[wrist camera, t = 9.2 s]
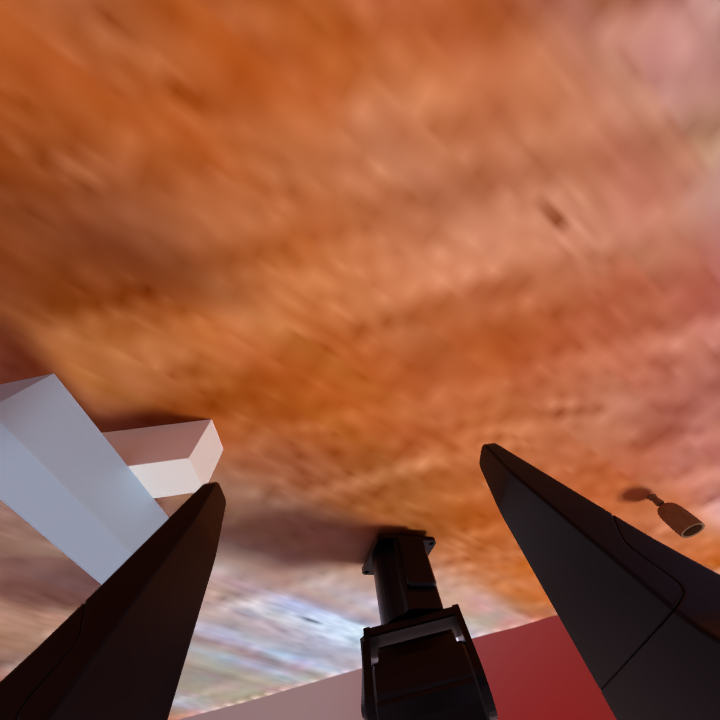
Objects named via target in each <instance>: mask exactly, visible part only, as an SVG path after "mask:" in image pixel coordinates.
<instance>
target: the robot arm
mask: <svg viewBox="0 0 720 720" xmlns="http://www.w3.org/2000/svg"><path fill="white" fill-rule="evenodd" d="M480 468H481V470H482V472H483V475H484V477H485V479H486V481H487V484H488V486H489V488H490V490H491V493H492V495H493V497H494V499H495V502H496V504H497V506H498V508H499V510H500V512H501V514H502V516H503V518H504V520H505V522H506V523H507V525H508V527H509V529H510V530H511V532H512V534H513V536H514V537H515V539H516V541H517V543H518V545H519V546H520V548H521V550H522V552H523V553H524V555H525V557H526V559H527V561H528V562H529V564H530V566H531V568H532V569H533V571H534V573H535V575H536V577H537V578H538V580H539V582H540V584H541V585H542V587H543V589H544V591H545V592H546V594H547V596H548V598H549V600H550V601H551V603H552V605H553V607H554V608H555V610H556V612H557V614H558V616H559V617H560V619H561V621H562V623H563V624H564V626H565V628H566V630H567V631H568V633H569V635H570V637H571V639H572V640H573V642H574V644H575V646H576V647H577V649H578V651H579V653H580V654H581V656H582V658H583V660H584V661H585V663H586V665H587V667H588V669H589V671H590V672H591V674H592V675H593V678H594V679H595V681H596V683H597V685H598V686H599V688H600V689H601V692H602V694H603V696H604V697H605V699H606V701H607V703H608V705H609V706H610V708H611V710H612V712H613V714H614V715H615V717H616V719H617V720H720V575H719V574H717V573H716V572H714V571H712V570H710V569H708V568H706V567H704V566H703V565H701V564H699V563H697V562H695V561H693V560H691V559H690V558H688V557H686V556H684V555H682V554H680V553H679V552H677V551H675V550H673V549H671V548H670V547H668V546H666V545H664V544H662V543H660V542H659V541H657V540H655V539H653V538H652V537H650V536H648V535H647V534H645V533H643V532H641V531H640V530H638V529H636V528H635V527H633V526H631V525H630V524H628V523H626V522H625V521H623V520H621V519H620V518H618V517H616V516H614V515H613V516H612V514H611V513H610V512H608V511H606V510H605V509H603V508H601V507H600V506H598V505H596V504H595V503H593V502H591V501H590V500H588V499H586V498H585V497H583V496H582V495H580V494H578V493H577V492H575V491H573V490H572V489H570V488H568V487H567V486H565V485H563V484H562V483H560V482H558V481H557V480H555V479H553V478H552V477H550V476H549V475H547V474H545V473H544V472H542V471H540V470H539V469H537V468H535V467H534V466H532V465H530V464H529V463H527V462H525V461H524V460H522V459H521V458H519V457H517V456H516V455H514V454H512V453H511V452H509V451H507V450H506V449H504V448H502V447H501V446H499V445H497V444H495V443H491V444H484V445H483V446H482V450H481V455H480ZM225 506H226V500H225V497H224V494H223V492H222V489H221V487H220V485H219V483H217V482H212V483H206V484H203V485H202V486H201V487H200V488H199V489H198V490H197V491H196V492H195V493H194V494H193V495H192V496H191V497H190V498H189V499H188V500H187V501H186V502H185V503H184V504H183V505H182V506H181V507H180V508H179V509H178V510H177V511H176V512H175V513H174V514H173V515H172V516H171V517H170V518H169V519H168V520H167V521H166V522H165V523H164V524H163V525H162V526H161V527H160V528H159V529H158V530H157V531H156V532H154V533H153V534H152V535H151V536H150V537H149V538H148V539H147V540H146V541H145V542H144V543H143V544H142V545H141V546H140V547H139V548H138V549H137V550H136V551H135V552H134V553H133V554H132V555H131V556H130V557H129V558H128V559H127V560H126V561H125V562H124V563H123V564H122V565H121V566H120V567H119V568H118V569H117V570H116V571H115V572H114V573H113V574H112V575H111V576H110V577H109V578H108V579H107V580H106V581H105V582H104V583H103V584H102V585H101V586H100V587H99V588H98V589H97V590H96V591H95V592H94V593H93V594H92V595H91V596H90V597H89V598H88V599H87V600H86V602H85V603H84V604H82V605H81V606H80V607H79V608H78V609H77V610H76V611H75V612H74V613H73V614H72V615H71V616H70V617H69V618H68V619H67V620H66V621H64V622H63V623H62V624H61V625H60V626H59V627H58V628H57V629H56V630H55V631H54V632H53V633H52V634H51V635H50V636H49V637H48V638H47V639H46V640H45V641H44V642H43V643H42V644H41V645H40V646H39V647H38V648H37V649H35V650H34V651H33V652H32V653H31V654H30V655H29V656H28V657H27V658H26V659H25V660H24V661H22V662H21V663H20V664H19V665H18V666H17V667H16V668H15V669H14V670H13V671H12V672H11V673H9V674H8V675H7V676H6V677H5V678H4V679H3V680H2V681H1V682H0V720H167V719H168V716H169V713H170V709H171V706H172V703H173V699H174V696H175V692H176V689H177V686H178V682H179V679H180V676H181V672H182V669H183V665H184V662H185V659H186V655H187V652H188V649H189V645H190V642H191V638H192V635H193V632H194V628H195V625H196V622H197V618H198V615H199V611H200V608H201V605H202V601H203V598H204V595H205V591H206V588H207V584H208V581H209V578H210V574H211V571H212V568H213V564H214V560H215V557H216V552H217V547H218V542H219V537H220V532H221V527H222V521H223V516H224V511H225ZM435 544H436V542H435V539H434V537H426V536H411V535H395V534H379V535H378V536H377V538H376V540H375V542H374V544H373V546H372V548H371V550H370V552H369V554H368V556H367V559H366V561H365V563H364V565H363V567H362V573H363V574H364V575H374V578H375V585H376V592H377V599H378V606H379V614H380V621H381V625H380V626H376V627H372V628H370V627H367V628H364V629H363V631H364V636H363V637H362V638H361V639H360V641H361V652H362V699H361V711H362V717H363V719H364V720H496V719H498V716H497V711H496V708H495V704H494V701H493V697H492V694H491V691H490V688H489V685H488V682H487V679H486V676H485V673H484V670H483V667H482V665H481V662H480V659H479V657H478V655H477V652H476V649H475V647H474V644H473V642H472V639H471V636H470V634H469V631H468V629H467V626H466V624H465V621H464V619H463V616H462V613H461V611H460V608H459V606H458V604H455V605H452V607H449V608H445V609H443V606H442V602H441V599H440V596H439V593H438V589H437V586H436V580H435V577H434V574H433V571H432V568H431V564H430V561H429V558H428V555H429V553H430V552H431V550H432V549H433V547H434V545H435ZM456 637H458V639H459V641H456Z"/></svg>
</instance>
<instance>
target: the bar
mask: <svg viewBox="0 0 720 720" xmlns="http://www.w3.org/2000/svg"><path fill="white" fill-rule="evenodd" d="M0 500H1V501H3V502H4V503H5V504H6V505H7V506H9V507H10V508H11V509H12V510H13V511H14V512H16V513H17V514H18V515H19V516H20V517H22V518H23V519H24V520H25V521H26V522H28V523H29V524H30V525H31V526H32V527H33V528H35V529H36V530H37V531H38V532H39V533H41V534H42V535H43V536H44V537H45V538H47V539H48V540H49V541H50V542H51V543H52V544H54V545H55V546H56V547H57V548H58V549H60V550H61V551H62V552H63V553H64V554H65V555H67V556H68V557H69V558H70V559H71V560H73V561H74V562H75V563H76V564H77V565H79V566H80V567H81V568H82V569H83V570H84V571H86V572H87V573H88V574H89V575H90V576H92V577H93V578H94V579H95V580H96V581H98V582H99V583H100V584H101V585H102V584H103V583H104V582H105V581H106V580H107V579H108V578H109V577H110V576H111V575H112V574H113V573H114V572H115V571H116V570H117V569H118V568H119V567H120V566H121V565H122V564H123V563H124V562H125V561H126V560H127V559H128V558H129V557H130V556H131V555H132V554H133V553H134V552H135V551H136V550H137V549H138V548H139V547H140V546H141V545H142V544H143V543H144V542H145V541H146V540H147V539H148V538H149V537H150V536H151V535H152V534H153V533H154V532H156V531H157V530H158V529H159V528H160V527H161V526H162V525H163V524H164V523H165V522H166V521H167V520H168V519H169V517H168V516H167V515H166V514H165V512H164V511H163V510H162V509H161V507H160V506H159V505H158V503H157V502H156V501H155V500H154V498H153V497H152V496H151V495H150V493H149V492H148V491H147V490H146V488H145V487H144V486H143V485H142V483H141V482H140V481H139V480H138V478H137V477H136V476H135V475H134V473H133V472H132V471H131V470H130V468H129V467H128V466H127V464H126V463H125V462H124V461H123V459H122V458H121V457H120V456H119V454H118V453H117V452H116V451H115V449H114V448H113V447H112V446H111V444H110V443H109V442H108V441H107V439H106V438H105V437H104V436H103V434H102V433H101V432H100V430H99V429H98V428H97V427H96V425H95V424H94V423H93V422H92V420H91V419H90V418H89V417H88V415H87V414H86V413H85V412H84V410H83V409H82V408H81V407H80V405H79V404H78V403H77V402H76V400H75V399H74V398H73V396H72V395H71V394H70V393H69V391H68V390H67V389H66V388H65V386H64V385H63V384H62V383H61V381H60V380H59V379H58V378H57V376H56V375H55V374H54V373H52V374H48V375H43V376H38V377H33V378H28V379H24V380H19V381H14V382H9V383H4V384H0Z"/></svg>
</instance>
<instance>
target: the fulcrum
mask: <svg viewBox="0 0 720 720" xmlns="http://www.w3.org/2000/svg"><path fill="white" fill-rule="evenodd" d="M102 434H103V436H104V437H105V438H106V439H107V441H108V442H109V443H110V444H111V446H112V447H113V448H114V449H115V451H116V452H117V453H118V454H119V456H120V457H121V458H122V459H123V461H124V462H125V463H126V464H127V466H128V467H129V468H130V470H131V471H132V472H133V473H134V475H135V476H136V477H137V478H138V480H139V481H140V482H141V483H142V485H143V486H144V487H145V488H146V490H147V491H148V492H149V493H150V495H151V496H152V497H153V498H159V497H166V496H173V495H180V494H187V493H194V492H196V491H197V490H198V489H199V488H200V487H201V486H202V485H203V484H206V483H208V482H209V480H210V478H211V476H212V473H213V471H214V469H215V467H216V465H217V462H218V460H219V458H220V456H221V454H222V451H223V447H222V444H221V442H220V439H219V437H218V434H217V432H216V429H215V426H214V424H213V421H212V419H209V420H201V421H193V422H185V423H177V424H169V425H161V426H153V427H144V428H136V429H128V430H120V431H112V432H104V433H102Z"/></svg>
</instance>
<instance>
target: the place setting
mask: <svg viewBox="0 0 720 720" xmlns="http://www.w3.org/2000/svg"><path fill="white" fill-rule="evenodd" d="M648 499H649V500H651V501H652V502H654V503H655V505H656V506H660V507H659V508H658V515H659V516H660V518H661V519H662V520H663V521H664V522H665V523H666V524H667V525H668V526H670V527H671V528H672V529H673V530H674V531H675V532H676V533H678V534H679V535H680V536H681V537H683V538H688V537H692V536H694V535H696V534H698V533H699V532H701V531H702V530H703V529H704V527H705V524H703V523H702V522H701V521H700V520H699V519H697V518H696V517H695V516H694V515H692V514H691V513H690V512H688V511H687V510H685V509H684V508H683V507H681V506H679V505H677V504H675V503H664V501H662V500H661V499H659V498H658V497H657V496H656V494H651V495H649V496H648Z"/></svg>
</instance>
